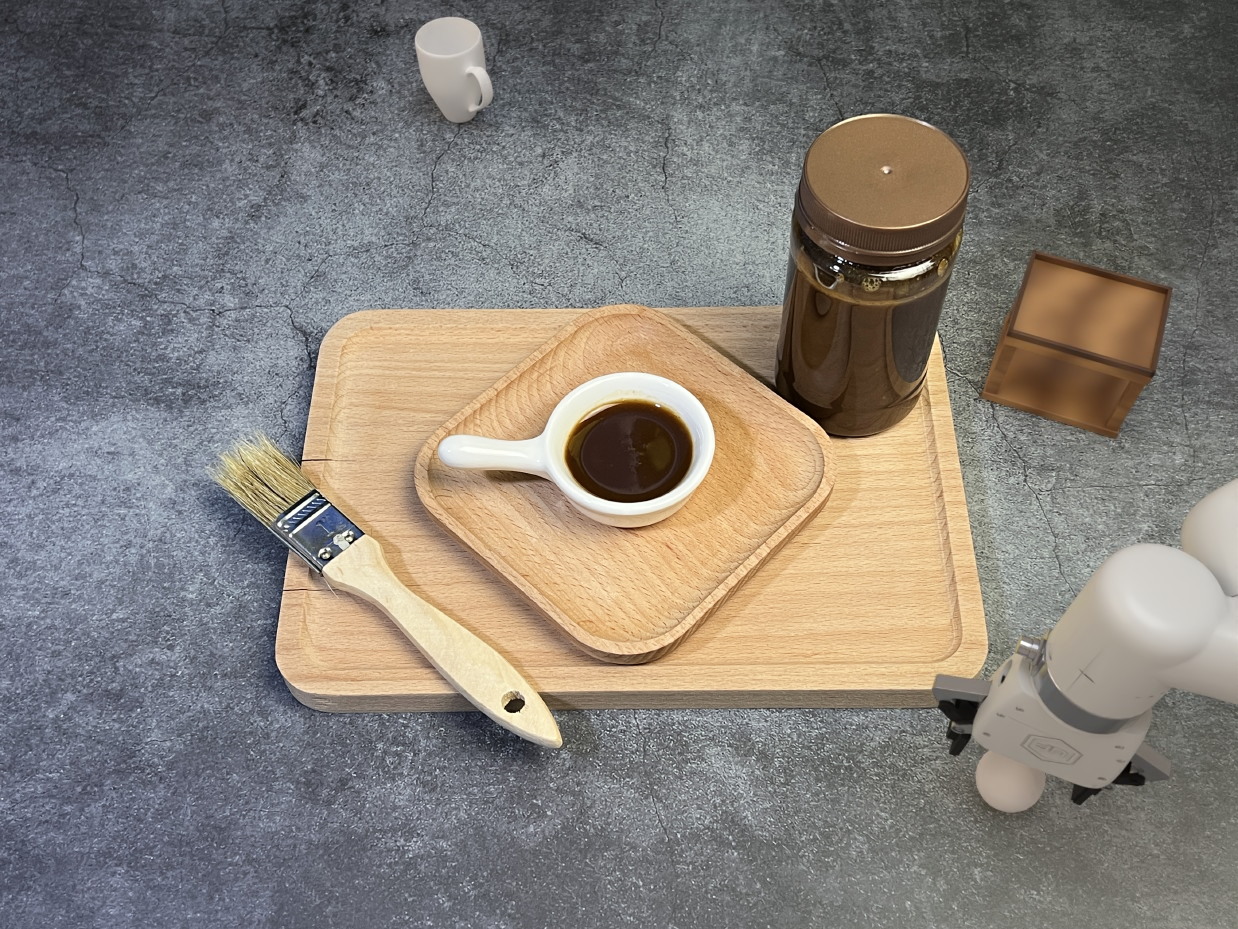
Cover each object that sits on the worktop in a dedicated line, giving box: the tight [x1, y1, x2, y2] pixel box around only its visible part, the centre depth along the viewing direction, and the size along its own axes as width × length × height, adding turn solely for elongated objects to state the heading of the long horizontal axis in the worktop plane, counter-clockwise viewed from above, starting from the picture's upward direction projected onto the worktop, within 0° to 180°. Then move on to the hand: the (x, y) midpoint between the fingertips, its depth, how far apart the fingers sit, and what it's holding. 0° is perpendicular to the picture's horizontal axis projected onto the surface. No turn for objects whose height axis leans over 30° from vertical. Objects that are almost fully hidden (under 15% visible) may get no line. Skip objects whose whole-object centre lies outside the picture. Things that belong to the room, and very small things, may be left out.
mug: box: [414, 16, 494, 124], centre depth 139 cm, size 12×8×11 cm
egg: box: [975, 750, 1047, 814], centre depth 90 cm, size 5×5×7 cm
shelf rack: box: [980, 249, 1174, 440], centre depth 114 cm, size 14×12×11 cm
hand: (1016, 762), depth 87 cm, fingers open, 9 cm apart
